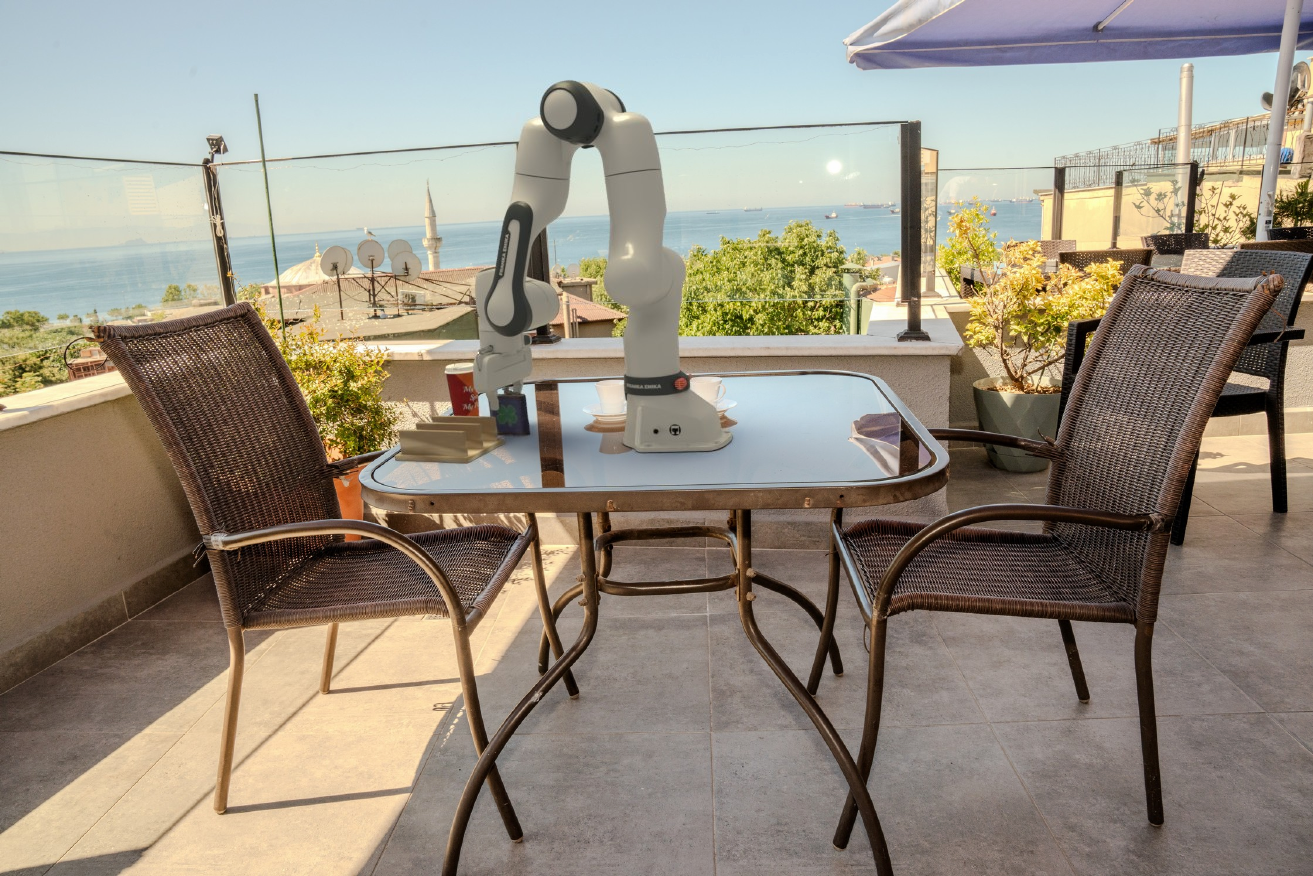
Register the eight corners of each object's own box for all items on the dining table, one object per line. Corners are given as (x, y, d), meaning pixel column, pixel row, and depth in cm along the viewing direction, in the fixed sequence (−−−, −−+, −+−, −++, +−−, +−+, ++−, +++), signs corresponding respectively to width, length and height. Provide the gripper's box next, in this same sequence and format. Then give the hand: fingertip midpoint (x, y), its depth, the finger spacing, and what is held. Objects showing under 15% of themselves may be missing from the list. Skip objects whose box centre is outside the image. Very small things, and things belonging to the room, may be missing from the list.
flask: (489, 435, 192) (484, 387, 189) (496, 431, 195) (491, 385, 192) (527, 436, 189) (522, 388, 186) (533, 432, 192) (528, 385, 189)
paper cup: (476, 427, 200) (469, 367, 196) (445, 427, 202) (438, 368, 198) (489, 419, 207) (482, 361, 204) (459, 419, 209) (452, 362, 205)
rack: (436, 440, 190) (432, 414, 188) (504, 443, 184) (501, 415, 183) (395, 460, 176) (391, 431, 175) (467, 463, 171) (464, 433, 169)
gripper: (489, 350, 176) (495, 416, 180) (535, 335, 195) (540, 395, 198) (462, 350, 178) (469, 415, 182) (510, 335, 197) (515, 394, 201)
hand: (506, 404), depth 190 cm, fingers open, 8 cm apart
